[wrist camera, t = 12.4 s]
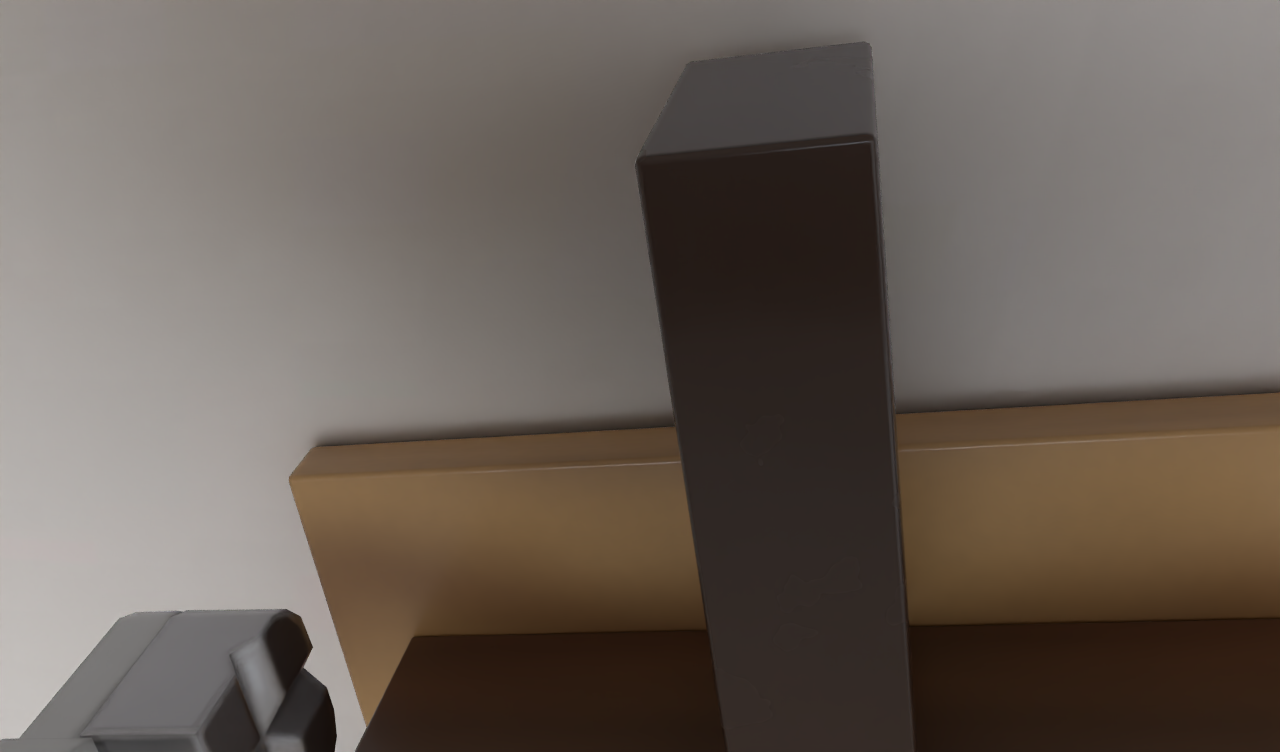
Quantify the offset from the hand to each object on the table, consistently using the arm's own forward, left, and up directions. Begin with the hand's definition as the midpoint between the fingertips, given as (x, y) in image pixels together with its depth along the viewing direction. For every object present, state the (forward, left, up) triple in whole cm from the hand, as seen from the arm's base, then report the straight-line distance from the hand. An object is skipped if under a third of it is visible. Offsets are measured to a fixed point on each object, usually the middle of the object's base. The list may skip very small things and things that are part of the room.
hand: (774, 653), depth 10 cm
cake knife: (+7, 0, -7) cm, 9 cm away
